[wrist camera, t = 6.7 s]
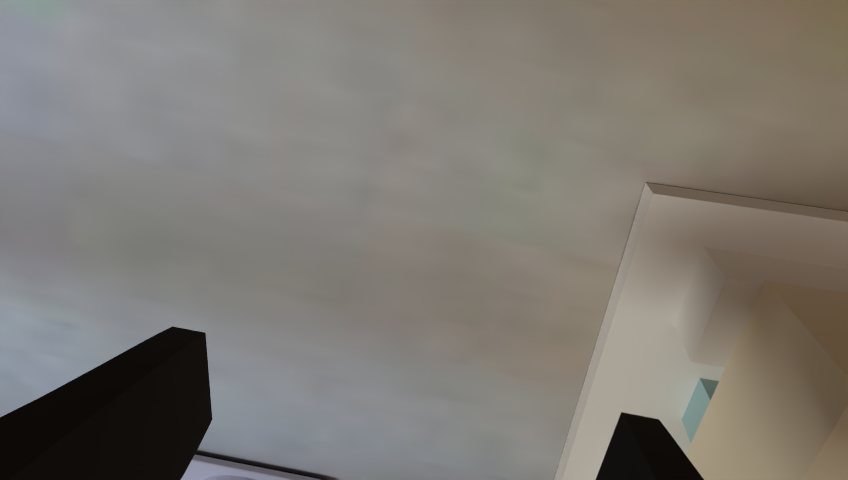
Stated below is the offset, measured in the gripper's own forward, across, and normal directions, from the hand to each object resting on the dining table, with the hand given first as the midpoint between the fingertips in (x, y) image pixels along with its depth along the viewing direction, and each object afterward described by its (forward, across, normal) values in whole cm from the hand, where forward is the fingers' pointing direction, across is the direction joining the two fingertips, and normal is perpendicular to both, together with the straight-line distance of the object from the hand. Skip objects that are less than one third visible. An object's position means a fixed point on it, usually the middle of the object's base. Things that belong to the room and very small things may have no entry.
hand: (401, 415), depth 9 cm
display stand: (+10, -11, +6) cm, 16 cm away
